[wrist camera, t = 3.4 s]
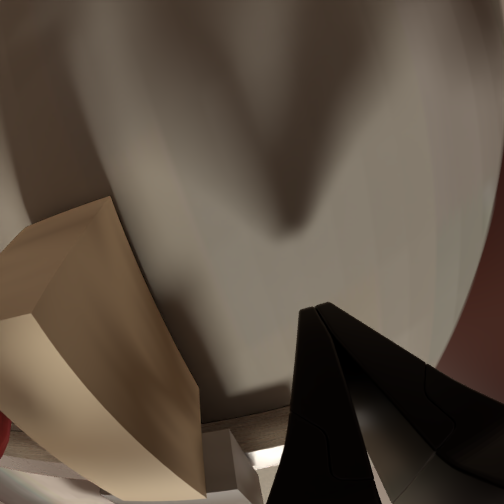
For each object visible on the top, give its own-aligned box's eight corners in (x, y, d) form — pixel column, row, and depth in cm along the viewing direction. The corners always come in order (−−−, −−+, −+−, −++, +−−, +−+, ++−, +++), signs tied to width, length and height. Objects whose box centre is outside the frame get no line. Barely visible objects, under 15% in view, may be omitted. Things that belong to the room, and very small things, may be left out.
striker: (251, 440, 14) (266, 520, 10) (162, 453, 14) (163, 528, 10) (145, 184, 8) (88, 299, 3) (4, 236, 7) (-82, 338, 3)
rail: (297, 426, 15) (307, 457, 13) (-51, 433, 14) (-56, 449, 12) (293, 404, 13) (303, 439, 12) (-68, 417, 13) (-74, 433, 11)
